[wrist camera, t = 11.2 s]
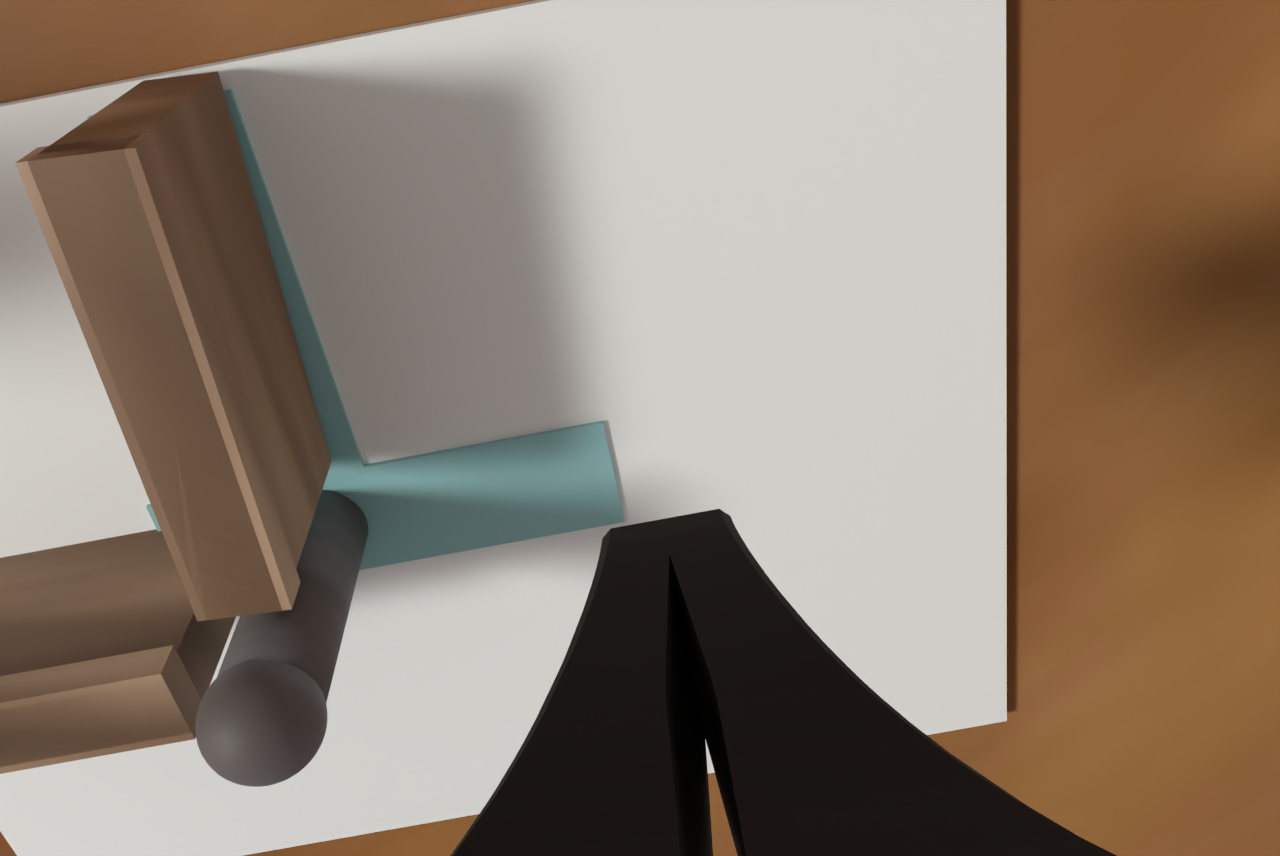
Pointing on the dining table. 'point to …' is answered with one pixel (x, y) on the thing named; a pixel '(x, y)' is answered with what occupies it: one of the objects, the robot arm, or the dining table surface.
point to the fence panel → (189, 334)
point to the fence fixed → (170, 655)
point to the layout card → (572, 369)
